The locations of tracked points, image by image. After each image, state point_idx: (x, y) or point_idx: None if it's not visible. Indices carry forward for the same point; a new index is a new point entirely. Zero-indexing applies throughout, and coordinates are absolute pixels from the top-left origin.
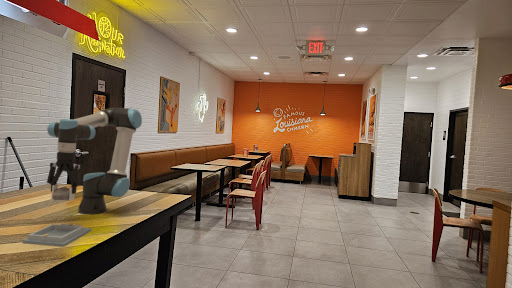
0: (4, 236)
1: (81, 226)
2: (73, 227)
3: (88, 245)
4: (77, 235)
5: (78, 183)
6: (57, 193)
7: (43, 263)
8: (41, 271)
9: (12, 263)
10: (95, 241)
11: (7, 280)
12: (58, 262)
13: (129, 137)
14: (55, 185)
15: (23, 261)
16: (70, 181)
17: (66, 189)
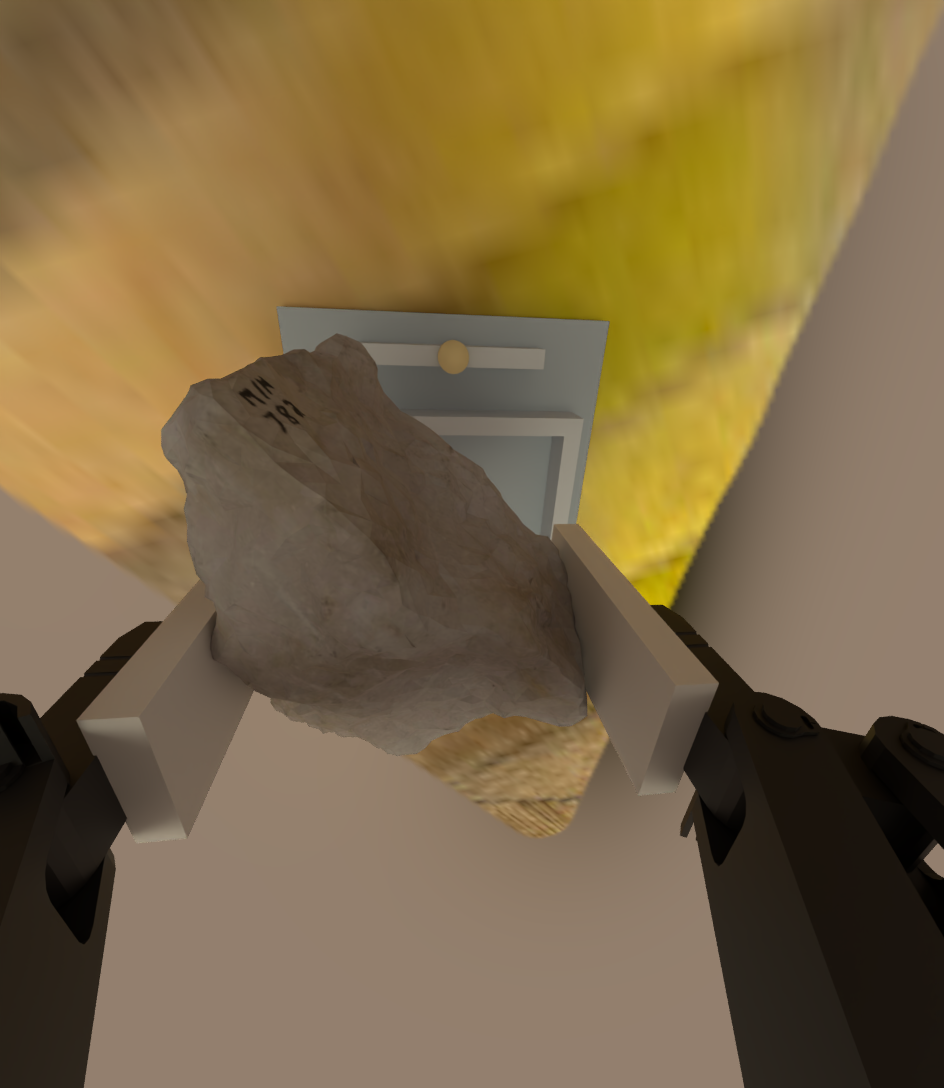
0: (132, 574)
1: (542, 358)
2: (510, 433)
3: (663, 578)
4: (572, 502)
5: (930, 873)
6: (397, 738)
7: (562, 750)
8: (586, 784)
9: (462, 772)
10: (684, 520)
11: (527, 832)
12: (607, 734)
13: None
14: (173, 789)
15: (486, 755)
16: (729, 978)
17: (480, 658)
